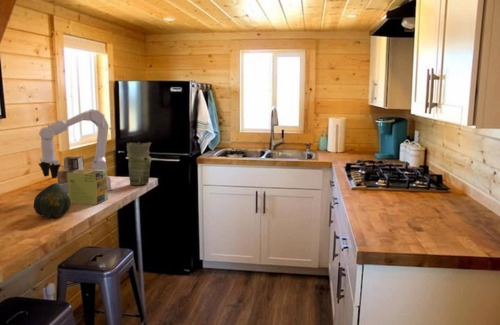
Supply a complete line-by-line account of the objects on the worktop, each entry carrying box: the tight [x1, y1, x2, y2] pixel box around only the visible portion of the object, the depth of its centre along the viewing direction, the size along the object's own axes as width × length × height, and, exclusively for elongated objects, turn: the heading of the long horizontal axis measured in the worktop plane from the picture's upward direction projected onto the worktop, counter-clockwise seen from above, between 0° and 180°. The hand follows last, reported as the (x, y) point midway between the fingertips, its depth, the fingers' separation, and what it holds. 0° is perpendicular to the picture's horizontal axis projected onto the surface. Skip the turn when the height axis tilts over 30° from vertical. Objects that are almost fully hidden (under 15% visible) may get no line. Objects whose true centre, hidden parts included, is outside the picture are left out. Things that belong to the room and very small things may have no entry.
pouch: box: [126, 141, 152, 186], centre depth 239 cm, size 11×12×25 cm
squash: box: [33, 182, 72, 220], centre depth 181 cm, size 14×15×15 cm
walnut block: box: [56, 169, 69, 184], centre depth 221 cm, size 4×4×6 cm
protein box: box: [67, 168, 109, 206], centre depth 203 cm, size 10×15×16 cm
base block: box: [55, 181, 68, 194], centre depth 222 cm, size 7×7×6 cm
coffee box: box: [62, 156, 85, 172], centre depth 239 cm, size 9×6×16 cm
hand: (50, 177), depth 211 cm, fingers open, 7 cm apart
